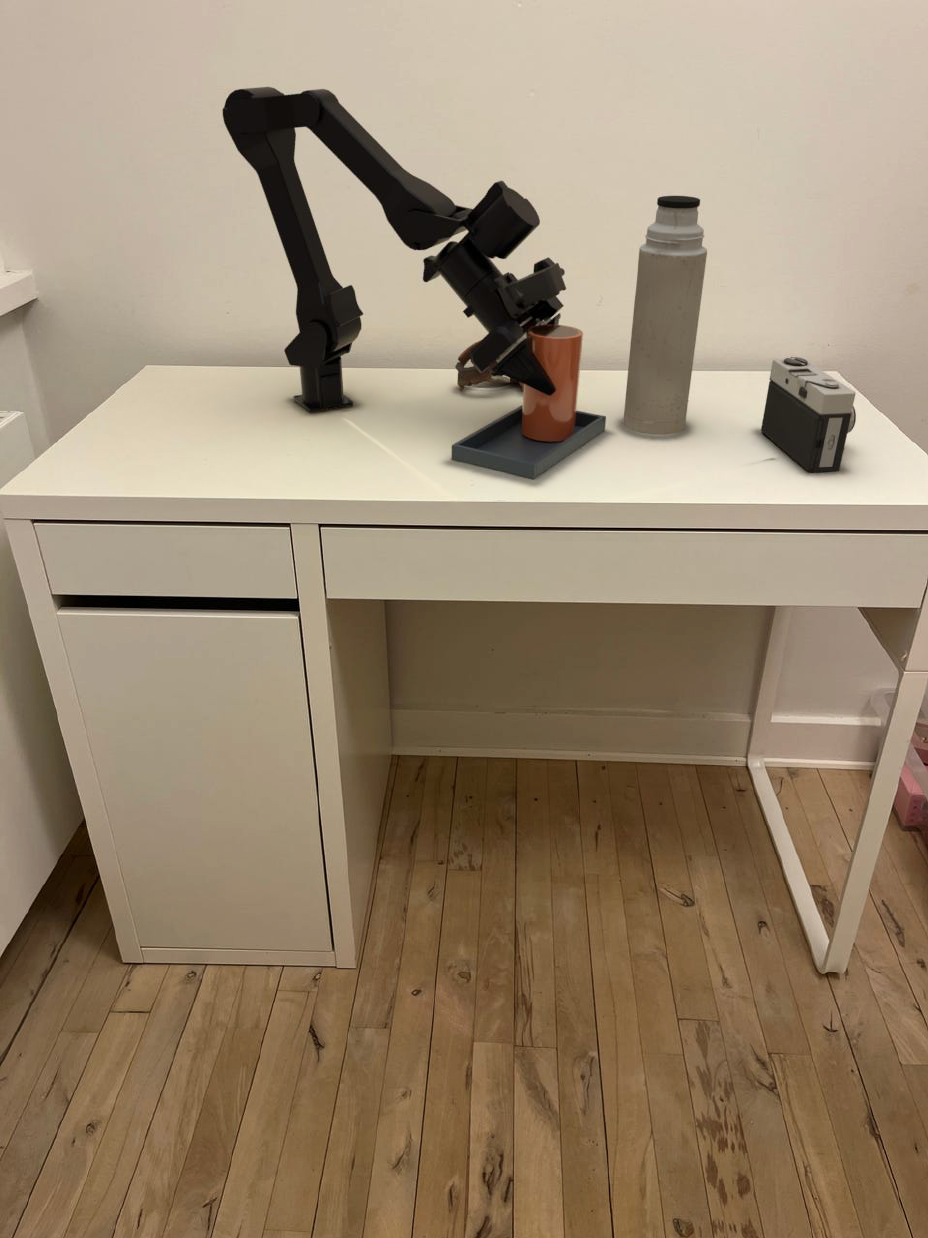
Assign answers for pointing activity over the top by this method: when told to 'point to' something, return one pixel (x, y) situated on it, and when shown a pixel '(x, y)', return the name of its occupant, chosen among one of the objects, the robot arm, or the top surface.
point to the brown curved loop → (475, 371)
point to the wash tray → (522, 445)
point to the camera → (808, 414)
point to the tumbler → (562, 365)
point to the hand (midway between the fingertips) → (562, 384)
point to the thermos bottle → (665, 318)
